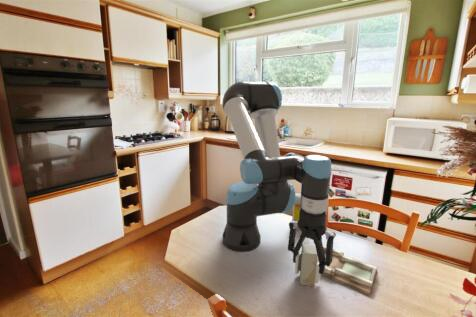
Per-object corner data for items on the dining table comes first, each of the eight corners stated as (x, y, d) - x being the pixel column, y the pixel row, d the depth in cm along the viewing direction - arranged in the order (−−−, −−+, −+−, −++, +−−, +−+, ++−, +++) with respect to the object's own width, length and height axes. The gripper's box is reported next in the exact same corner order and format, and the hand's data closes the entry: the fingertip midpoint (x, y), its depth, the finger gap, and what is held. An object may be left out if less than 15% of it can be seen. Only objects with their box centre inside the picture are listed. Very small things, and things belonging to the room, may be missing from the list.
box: (314, 286, 75) (317, 255, 72) (300, 284, 76) (302, 253, 73) (313, 274, 80) (316, 244, 77) (299, 272, 81) (301, 243, 78)
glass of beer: (307, 230, 106) (310, 197, 102) (293, 230, 106) (295, 197, 102) (304, 223, 112) (306, 192, 108) (290, 222, 112) (292, 192, 108)
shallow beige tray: (303, 267, 84) (304, 260, 83) (317, 248, 94) (317, 242, 93) (369, 295, 72) (370, 287, 71) (376, 270, 82) (377, 263, 82)
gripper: (278, 204, 74) (274, 270, 80) (343, 223, 63) (334, 298, 69) (288, 196, 80) (285, 258, 86) (350, 212, 69) (341, 282, 75)
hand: (307, 276), depth 78 cm, fingers closed on box, 6 cm apart
